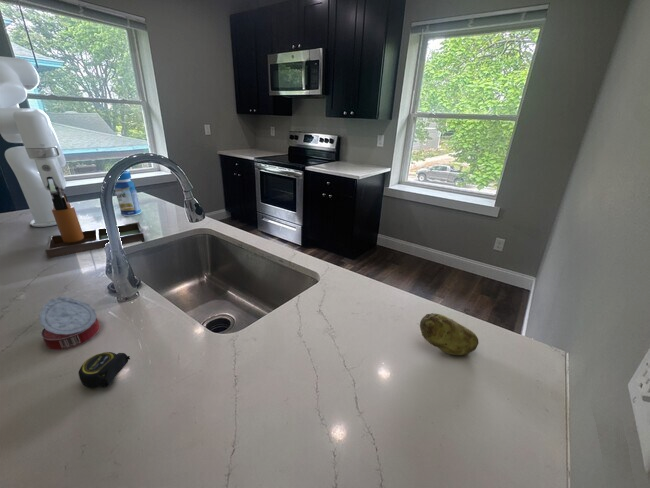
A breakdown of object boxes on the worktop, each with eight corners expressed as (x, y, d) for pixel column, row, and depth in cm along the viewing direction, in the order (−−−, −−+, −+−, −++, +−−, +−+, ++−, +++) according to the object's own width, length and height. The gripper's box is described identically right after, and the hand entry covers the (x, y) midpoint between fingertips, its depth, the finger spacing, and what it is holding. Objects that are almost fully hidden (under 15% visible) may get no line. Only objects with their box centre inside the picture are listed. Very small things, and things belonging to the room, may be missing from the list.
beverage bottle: (145, 213, 143) (135, 171, 135) (127, 218, 137) (115, 174, 128) (136, 209, 147) (125, 169, 139) (117, 214, 141) (105, 171, 132)
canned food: (90, 334, 76) (102, 297, 76) (97, 353, 69) (110, 312, 69) (29, 335, 67) (41, 294, 67) (30, 357, 60) (44, 310, 60)
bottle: (63, 237, 108) (46, 190, 101) (84, 234, 112) (68, 188, 104) (62, 243, 104) (44, 195, 96) (84, 240, 107) (68, 193, 100)
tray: (52, 245, 110) (49, 236, 108) (140, 230, 125) (138, 222, 124) (49, 259, 100) (45, 250, 98) (145, 241, 115) (143, 233, 114)
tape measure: (109, 393, 56) (103, 378, 54) (73, 390, 56) (67, 376, 54) (132, 364, 62) (128, 350, 60) (100, 362, 62) (95, 348, 61)
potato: (474, 370, 63) (484, 342, 60) (413, 349, 69) (419, 321, 65) (475, 345, 70) (484, 318, 67) (420, 327, 75) (426, 301, 72)
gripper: (56, 156, 91) (75, 213, 99) (60, 148, 103) (76, 199, 111) (23, 158, 87) (45, 216, 94) (31, 149, 99) (50, 202, 107)
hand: (62, 206), depth 103 cm, fingers closed on bottle, 4 cm apart
